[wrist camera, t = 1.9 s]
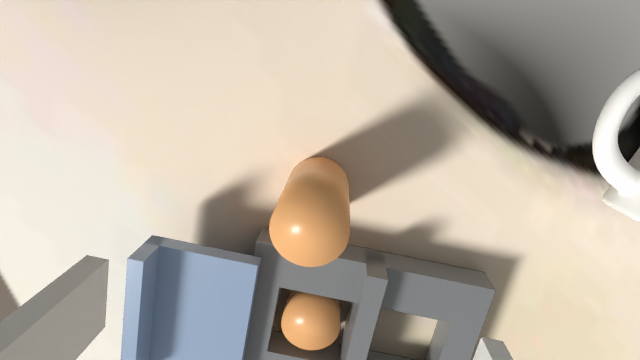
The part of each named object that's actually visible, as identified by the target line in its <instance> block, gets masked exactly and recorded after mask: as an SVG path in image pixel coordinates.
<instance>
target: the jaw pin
mask: <svg viewBox="0 0 640 360" xmlns="http://www.w3.org/2000/svg"><path fill="white" fill-rule="evenodd" d="M269 233H270V238H271V241H272V243H273V245H274V247H275V248H276V250H277V251H278V252H279V254H280V255H281V256H283V257H284V258H285V259H286V260H288V261H290V262H292V263H294V264H296V265H300V266H304V267H318V266H323V265H325V264H328V263H330V262H332V261H334V260H335V259H336V258H338V257H339V256H340V255H341V254H342V252H343V251H344V250H345V248H346V246H347V244H348V241H349V237H350V206H349V182H348V178H347V175H346V173H345V171H344V170H343V169H342V167H341V166H340V165H339V164H337V163H336V162H334V161H333V160H330V159H328V158H324V157H312V158H308V159H306V160H304V161H302V162H300V163H299V164H298V165H297V166H296V167H295V168H294V169H293V171H292V173H291V175H290V177H289V179H288V181H287V183H286V185H285V188H284V190H283V192H282V194H281V196H280V198H279V201H278V203H277V205H276V207H275V209H274V211H273V214H272V216H271V219H270V225H269Z"/></svg>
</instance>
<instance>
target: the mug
mask: <svg viewBox="0 0 640 360" xmlns="http://www.w3.org/2000/svg"><path fill="white" fill-rule="evenodd" d="M639 95H640V69H638V70H636V71H635V72H633V73H632V74H630V75H629V76H628V77H627V78H626V79H624V80H623V81H622V82H621V83H620V84H619V85H618V87H617V88H616V89H615V90H614V92H613V93H612V94H611V96H610V97H609V99H608V100H607V102H606V104H605V105H604V107H603V109H602V111H601V113H600V115H599V118H598V121H597V123H596V127H595V130H594V135H593V156H594V160H595V163H596V166H597V168H598V170H599V172H600V173H601V175H602V176H603V177H604V178H605V179H606V181H607V182H608V183H609V184H611V186H610V187H609V189H608V190H607V191H606V193H605V194H604V195H603V197H602V200H603V202H604V203H606V204H607V205H609V206H611V207H613V208H614V209H616V210H618V211H620V212H621V213H623V214H625V215H627V216H629V217H630V218H632V219H634V220H636V221H638V222H640V147H639V149H638V150H637V151H636V153H635V154H634V155H633V157H632V158H631V159H630V161H629V162H628V163H627V161H626V160H625V159H624V158H623V156H622V154H621V152H620V150H619V147H618V131H619V128H620V125H621V122H622V120H623V118H624V116H625V115H626V113H627V111H628V109H629V108H630V106H631V105H632V103H633V102H634V101H635V100H636V98H637V97H638V96H639Z"/></svg>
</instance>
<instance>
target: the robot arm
mask: <svg viewBox="0 0 640 360" xmlns="http://www.w3.org/2000/svg"><path fill="white" fill-rule="evenodd" d="M108 265H109V260H108V259H103V258H98V257H93V256H88V255H87V256H85V257H84V258H83V259H82V260H80V261H79V262H78V263H76V264H75V265H74V266H72V267H71V268H70V269H69V270H67V271H66V272H65V273H63V274H62V275H61V276H59V277H58V278H57V279H56V280H54V281H53V282H52V283H50V284H49V285H48V286H47V287H45V288H44V289H43V290H41V291H40V292H39V293H37V294H36V295H35V296H34V297H32V298H31V299H30V300H28V301H27V302H26V303H25V304H23V305H22V306H21V307H19V308H18V309H17V310H15V311H14V312H13V313H12V314H10V315H9V316H8V317H6V318H5V319H4V320H3V321H1V322H0V360H76V359H77V358H78V357H79V355H80V354H81V353H82V352H83V351H84V350H85V349H86V348H87V346H88V345H89V344H90V343H91V342H92V341H93V340H94V338H95V337H96V336H97V335H98V334H99V333H100V332H101V331H102V329H103V328H104V327H105V318H106V301H107V283H108ZM473 360H513V359H512V357H511V355H510V353H509V351H508V350H507V348H506V346H505V344H504V342H503V341H499V340H494V339H489V338H484V337H481V339H480V342H479V345H478V347H477V350H476V353H475V355H474V358H473Z"/></svg>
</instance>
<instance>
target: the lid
mask: <svg viewBox="0 0 640 360" xmlns="http://www.w3.org/2000/svg"><path fill="white" fill-rule="evenodd" d="M260 262H261V257H256V256H251V255H247V254H242V253H237V252H232V251H227V250H222V249H217V248H212V247H207V246H203V245H198V244H193V243H188V242H183V241H178V240H173V239H168V238H163V237H159V236H154V235H152V236H151V237H150V238H149V239H148V240H147V241H146V242H145V243H144V244H143V245H142V246H141V247H139V248H138V249H137V250H136V251H135V252H134V253H133V254H132V255H131V256H130V257H129V258H128V259H127V274H126V288H125V303H124V318H123V333H122V347H121V360H244V355H245V349H246V344H247V338H248V332H249V326H250V320H251V314H252V309H253V303H254V297H255V291H256V285H257V280H258V274H259V268H260Z"/></svg>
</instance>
